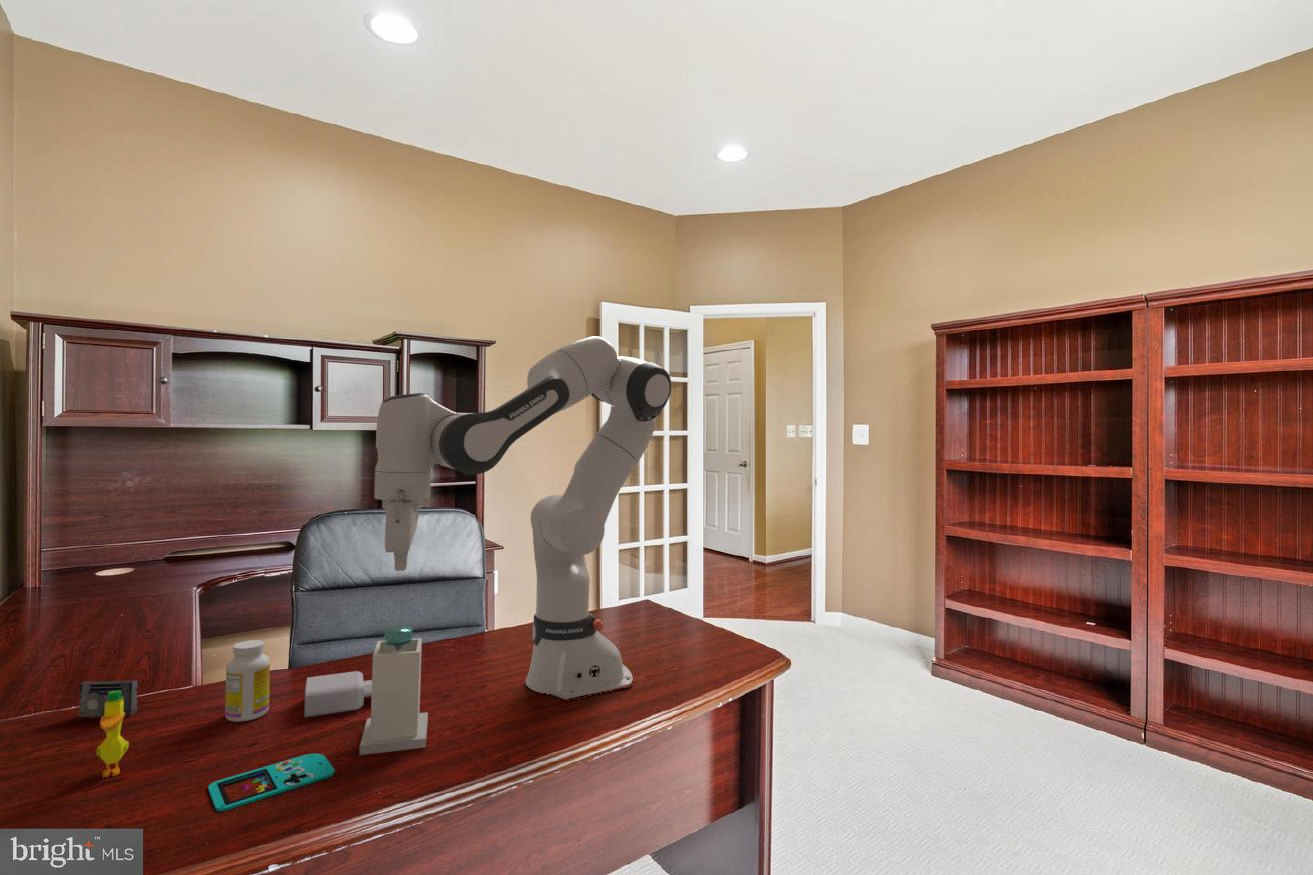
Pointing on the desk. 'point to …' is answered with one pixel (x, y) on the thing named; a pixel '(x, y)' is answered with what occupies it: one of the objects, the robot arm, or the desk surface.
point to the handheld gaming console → (274, 779)
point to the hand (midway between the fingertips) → (400, 569)
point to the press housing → (395, 701)
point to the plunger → (398, 637)
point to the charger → (336, 693)
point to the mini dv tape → (106, 697)
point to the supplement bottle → (247, 682)
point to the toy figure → (112, 733)
